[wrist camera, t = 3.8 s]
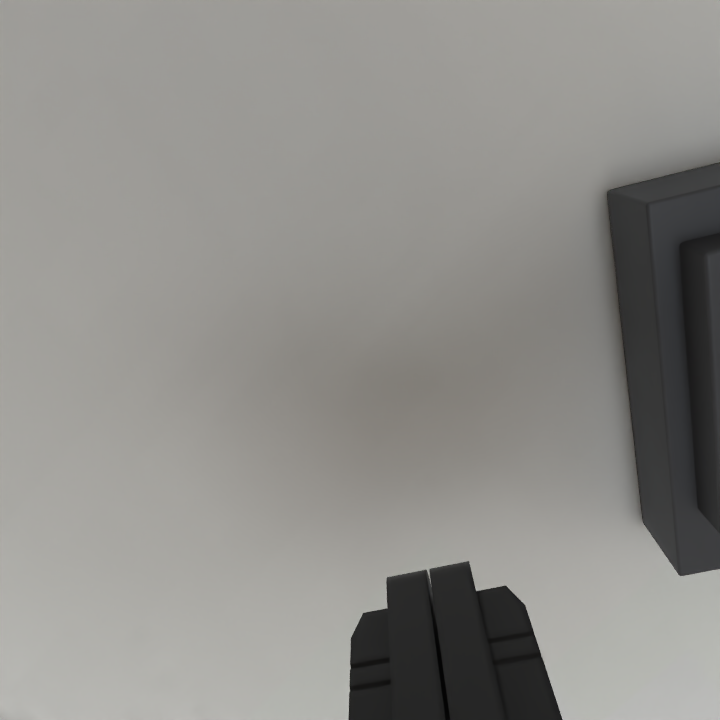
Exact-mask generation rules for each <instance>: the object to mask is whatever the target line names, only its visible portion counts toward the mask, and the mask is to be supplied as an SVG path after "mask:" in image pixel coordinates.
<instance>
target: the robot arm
mask: <svg viewBox="0 0 720 720" xmlns="http://www.w3.org/2000/svg"><path fill="white" fill-rule="evenodd" d="M430 579H431V583H430ZM430 579H429V576H428V572H427V570H422V571H417V572H412V573H407V574H402V575H397V576H392V577H387V606H388V609H382V610H377V611H372V612H367V613H363V615H362V617H361V619H360V621H359V623H358V625H357V627H356V629H355V631H354V633H353V635H352V637H351V659H350V665H351V670H350V694H349V720H562V717H561V714H560V711H559V708H558V705H557V702H556V699H555V696H554V692H553V689H552V686H551V683H550V680H549V677H548V674H547V671H546V668H545V665H544V662H543V659H542V657H541V653H540V650H539V647H538V644H537V640H536V637H535V635H534V632H533V628H532V625H531V622H530V619H529V616H528V613H527V610H526V607H525V605H524V604H523V603H522V602H521V601H520V600H519V599H518V598H517V597H516V596H515V595H514V594H513V593H512V591H511V590H510V589H509V588H508V587H507V586H502V587H496V588H491V589H486V590H481V591H476V589H475V585H474V581H473V577H472V572H471V568H470V564H469V561H467V562H462V563H457V564H452V565H447V566H442V567H437V568H432V569H430ZM431 586H432V587H431Z"/></svg>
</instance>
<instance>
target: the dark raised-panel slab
mask: <svg viewBox="0 0 720 720" xmlns="http://www.w3.org/2000/svg"><path fill="white" fill-rule="evenodd" d="M607 195H608V204H609V213H610V222H611V231H612V241H613V250H614V259H615V268H616V277H617V287H618V296H619V305H620V314H621V323H622V333H623V342H624V351H625V360H626V369H627V378H628V388H629V397H630V406H631V415H632V424H633V434H634V443H635V452H636V461H637V470H638V479H639V489H640V498H641V507H642V516H643V523H644V525H645V526H646V528H647V529H648V530H649V532H650V533H651V535H652V536H653V538H654V539H655V541H656V542H657V544H658V545H659V547H660V548H661V549H662V551H663V552H664V554H665V555H666V557H667V558H668V560H669V561H670V563H671V564H672V566H673V567H674V569H675V570H676V571H677V573H678V574H679V575H680V576H684V575H690V574H695V573H700V572H705V571H711V570H716V569H720V163H717V164H713V165H709V166H705V167H701V168H697V169H692V170H688V171H684V172H680V173H676V174H672V175H668V176H664V177H660V178H656V179H652V180H648V181H644V182H640V183H636V184H632V185H628V186H624V187H620V188H616V189H612V190H610V191H608V194H607Z"/></svg>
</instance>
